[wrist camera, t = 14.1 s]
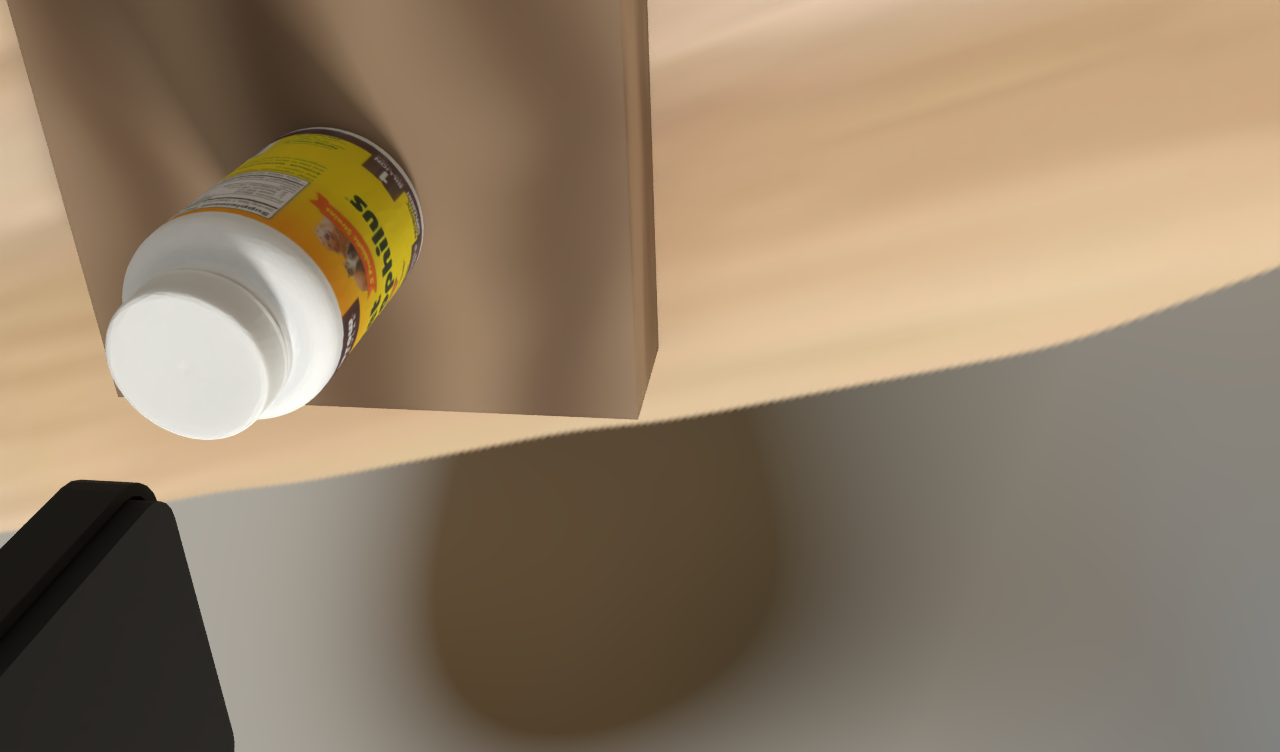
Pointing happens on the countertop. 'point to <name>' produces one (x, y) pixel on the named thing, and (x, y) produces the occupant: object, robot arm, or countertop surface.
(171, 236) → the supplement bottle
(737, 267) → the countertop surface
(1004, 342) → the countertop surface
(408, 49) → the walnut riser
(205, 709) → the robot arm
